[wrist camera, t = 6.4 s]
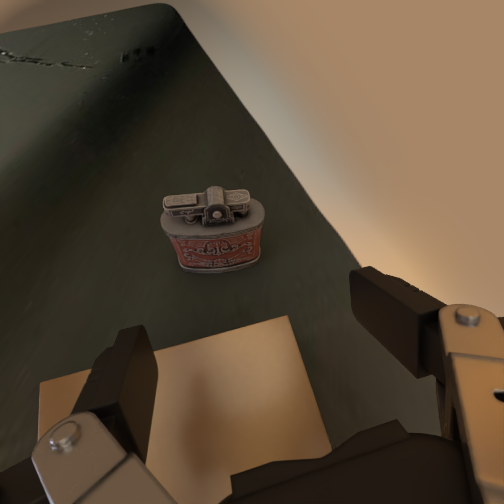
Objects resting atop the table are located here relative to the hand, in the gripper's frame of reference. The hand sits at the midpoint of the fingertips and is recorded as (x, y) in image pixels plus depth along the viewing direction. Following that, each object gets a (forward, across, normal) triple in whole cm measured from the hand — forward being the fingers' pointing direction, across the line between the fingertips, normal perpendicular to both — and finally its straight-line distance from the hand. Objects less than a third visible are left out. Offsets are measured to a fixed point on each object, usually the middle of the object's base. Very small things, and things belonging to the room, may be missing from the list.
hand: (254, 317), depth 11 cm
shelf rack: (+8, +5, +14) cm, 17 cm away
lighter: (+18, 0, +4) cm, 19 cm away
